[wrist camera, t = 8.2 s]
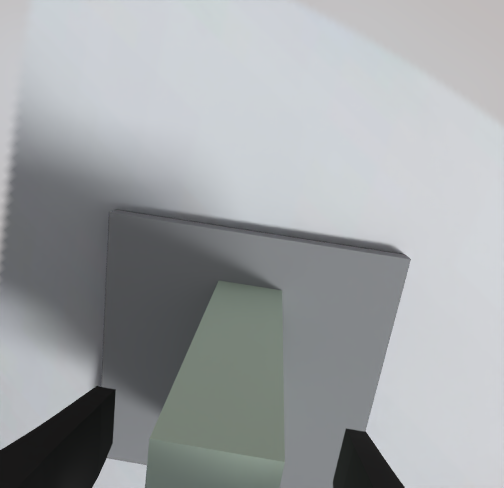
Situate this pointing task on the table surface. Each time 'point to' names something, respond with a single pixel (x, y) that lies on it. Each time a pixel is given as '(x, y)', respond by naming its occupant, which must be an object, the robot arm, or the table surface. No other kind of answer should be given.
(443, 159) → the table surface
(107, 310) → the mat
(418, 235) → the table surface
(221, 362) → the panel
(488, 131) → the table surface
